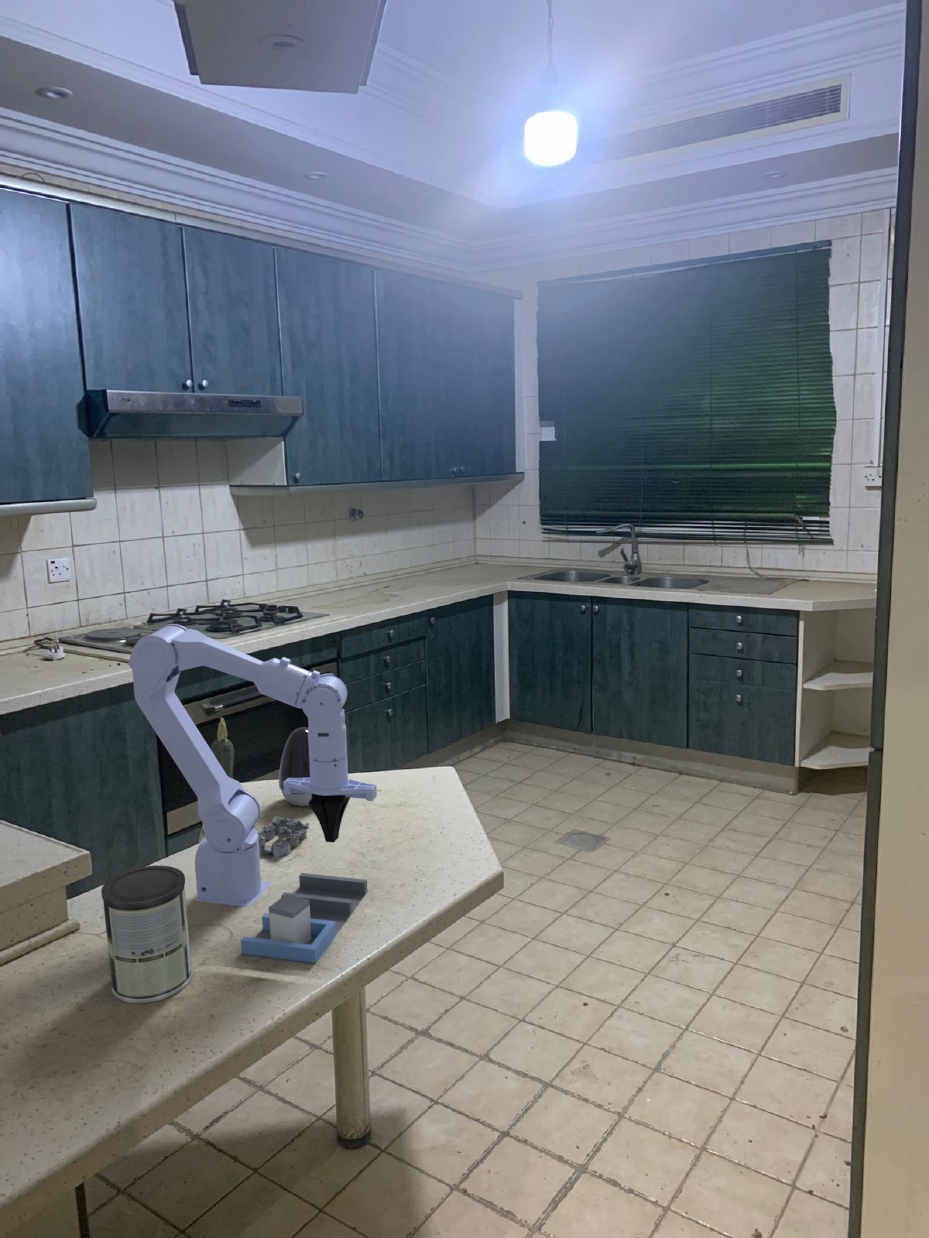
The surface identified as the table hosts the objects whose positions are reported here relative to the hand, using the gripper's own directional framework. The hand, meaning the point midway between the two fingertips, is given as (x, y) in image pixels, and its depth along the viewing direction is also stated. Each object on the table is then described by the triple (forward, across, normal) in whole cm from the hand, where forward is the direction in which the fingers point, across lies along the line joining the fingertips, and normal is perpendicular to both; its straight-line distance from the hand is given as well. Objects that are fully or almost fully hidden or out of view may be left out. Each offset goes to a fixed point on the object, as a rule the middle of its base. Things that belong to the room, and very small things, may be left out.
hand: (332, 839), depth 142 cm
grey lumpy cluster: (+10, +16, -15) cm, 24 cm away
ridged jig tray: (+9, 0, +9) cm, 13 cm away
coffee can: (+10, +15, +27) cm, 32 cm away
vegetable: (+10, +31, -23) cm, 40 cm away
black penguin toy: (+10, +20, -35) cm, 41 cm away
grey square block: (+9, 0, +15) cm, 18 cm away
